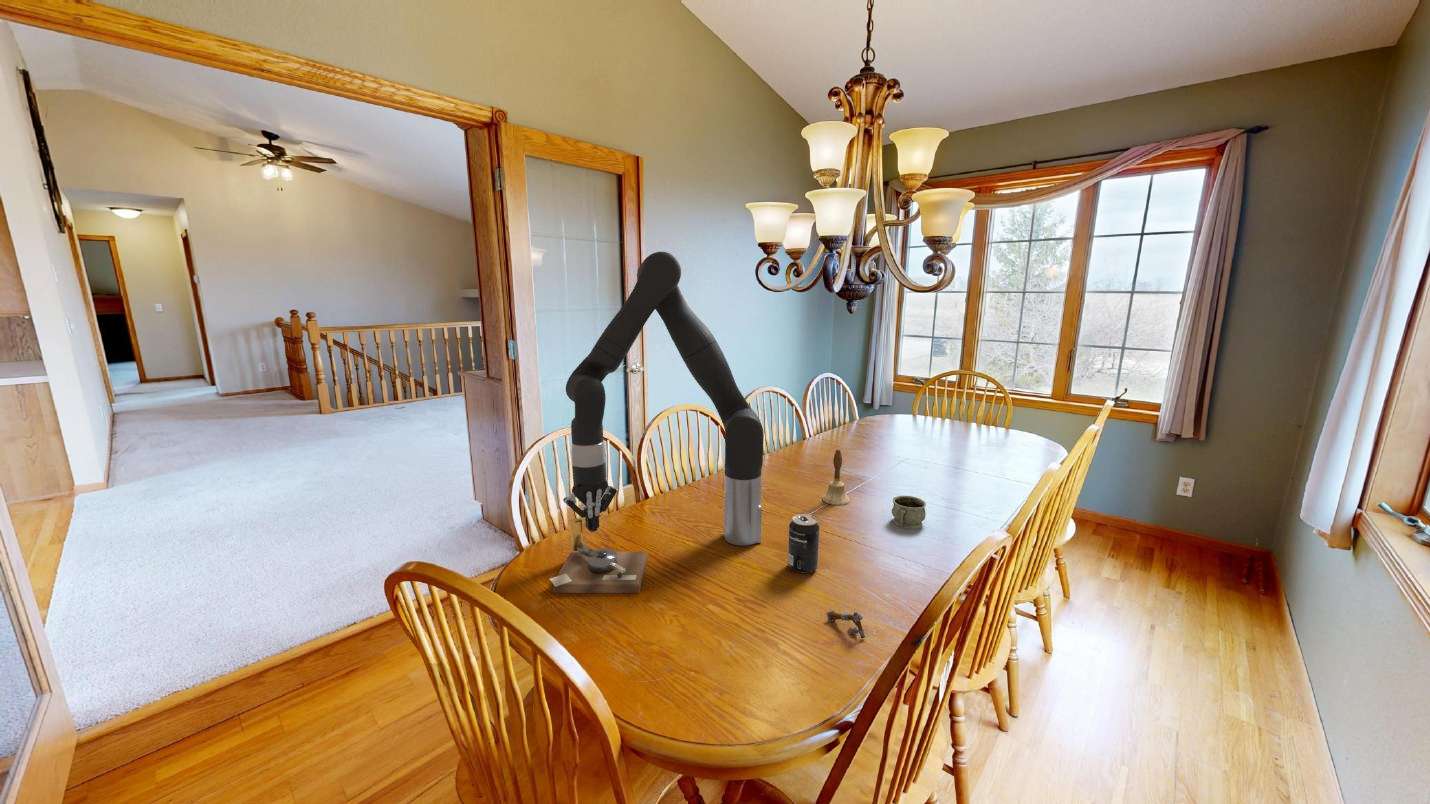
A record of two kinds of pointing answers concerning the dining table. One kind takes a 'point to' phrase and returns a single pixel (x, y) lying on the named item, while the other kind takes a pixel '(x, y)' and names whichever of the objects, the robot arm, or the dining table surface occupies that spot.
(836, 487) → the hand bell
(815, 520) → the beverage can
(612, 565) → the capstan
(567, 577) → the stand
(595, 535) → the dining table surface
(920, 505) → the vessel
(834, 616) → the brown grey angled piece
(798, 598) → the dining table surface
